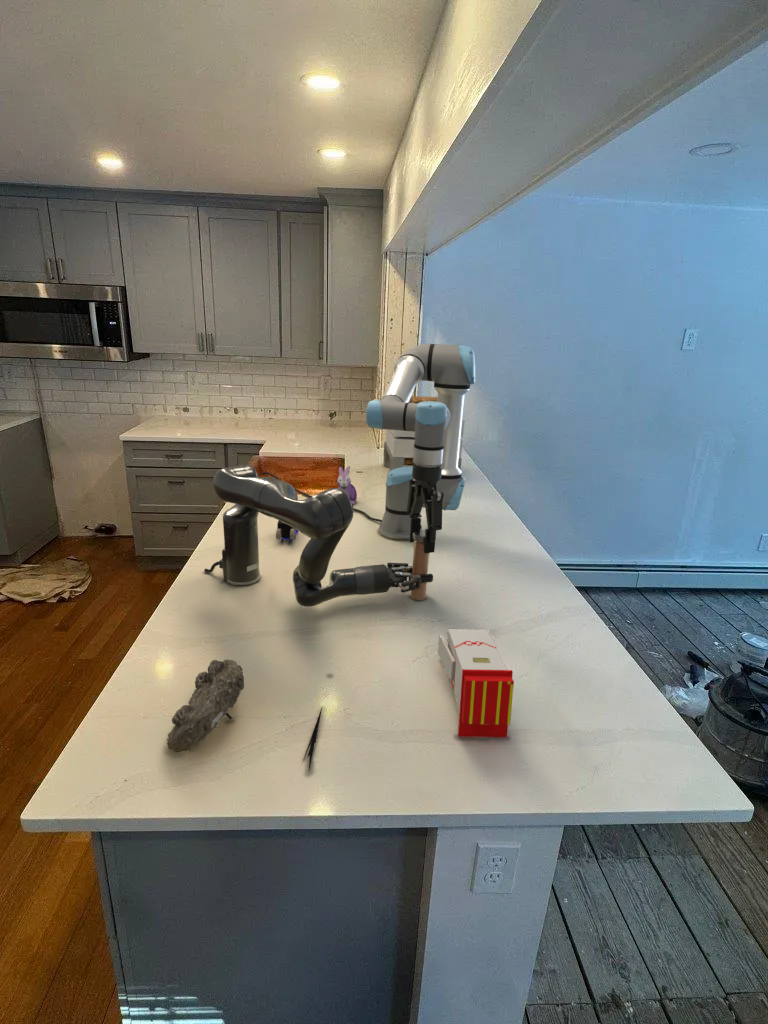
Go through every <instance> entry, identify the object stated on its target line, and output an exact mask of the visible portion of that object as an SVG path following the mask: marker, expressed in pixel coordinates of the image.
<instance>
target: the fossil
mask: <svg viewBox="0 0 768 1024" xmlns="http://www.w3.org/2000/svg"><path fill="white" fill-rule="evenodd" d="M243 670H244V669H243V667H242V665H240V664H237V662H236V661H235V660H234V659H232V658H231V659H227V658H226V659H224V660H223V661H222V660H217V659H212V660H211V661H210V663H209V665H208V666H207V671H201V672H199V673H198V674H197V675H196V676H195V680H194V684H195V685H194V687H195V689H194V690H193V693H192V694H191V697H190V698H189V700H188V704H184V705H182V706H181V707H180V709H177V710H176V711H175V713H174V715H173V716H172V718H171V723H172V724H173V727H172V730H171V731H170V732H168V734H167V738H166V741H167V742H166V745H167V749H168V750H169V751H173V752H174V753H176V754H178V753H182V752H188V751H189V752H192V751H193V750H195V748H196V747H197V746H199V744H200V743H201V742H203V741H204V740H205V739H206V738H207V737H208V736H209V735H210V734H211V733H212V732H214V730H215V729H217V727H218V726H219V724H220V722H221V721H222V720H223V719H224V718H225V716H226V717H227V719H229V720H233V717H232V715H230V714H229V710H230V709H231V708H234V706H235V704H236V703H237V702H238V699H239V697H240V695H241V693H242V691H243V690H245V689H244V688H245V675H244V671H243Z"/></svg>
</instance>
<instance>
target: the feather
mask: <svg viewBox="0 0 768 1024" xmlns="http://www.w3.org/2000/svg"><path fill="white" fill-rule="evenodd" d="M329 675H330V676H331V675H332V674H331V673H330V674H329ZM322 710H323V707H321V708H320V710H319V713H318V716H317V719H316V723H315V725H314V728H313V731H312V733H311V737H310V739H309V742H308V745H307V748H306V751H305V754H304V757H303V760H302V763H301V767H302V765H303V763H304V761H305V758H308V759H309V760H308V762H307V763H308V764H307V766H308V771H310V770H311V766H312V765H311V764H312V760H313V757H315V756H314V755H315V751H316V749H315V746H317V739H318V733H319V729H320V722H321V717H322V712H323V711H322ZM313 754H314V755H313ZM306 755H307V757H306Z"/></svg>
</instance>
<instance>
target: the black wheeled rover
mask: <svg viewBox="0 0 768 1024" xmlns="http://www.w3.org/2000/svg"><path fill="white" fill-rule="evenodd" d="M298 534H299V531H298V530H296V529H294V528H293V527H291V526H290V525H288V524H286V523H283V522H281V521H279V520H278V521H277V526H276V532H275V539H276V540H280V544H283V543H284V541H288V542H289V544H292V542H293V540H295V539H296V535H298Z"/></svg>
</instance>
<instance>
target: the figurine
mask: <svg viewBox="0 0 768 1024" xmlns="http://www.w3.org/2000/svg"><path fill="white" fill-rule="evenodd" d="M350 473H351V466H350V465H348V466H347V467H346V468H345V469H344V468H343V467H342V466H339V467H338V477H337V480H336V483H337V486H338V487H337V488H338V489H341V490H342V491H344V492H345V493H346V495H347V496H348V497H349V499H350V501H351V503H352V505H355V504H356V503H357V498H358V494H357V489H356V486H354V485H353V484H352V480H351V477H350Z"/></svg>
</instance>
